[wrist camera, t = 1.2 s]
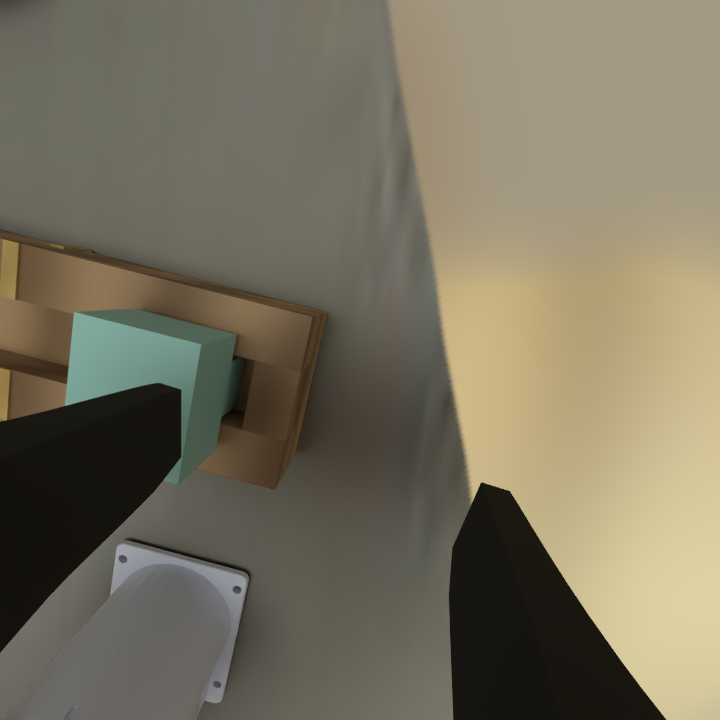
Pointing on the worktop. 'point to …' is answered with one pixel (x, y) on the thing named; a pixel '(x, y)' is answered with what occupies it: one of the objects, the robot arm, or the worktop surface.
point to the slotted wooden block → (171, 299)
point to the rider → (158, 370)
